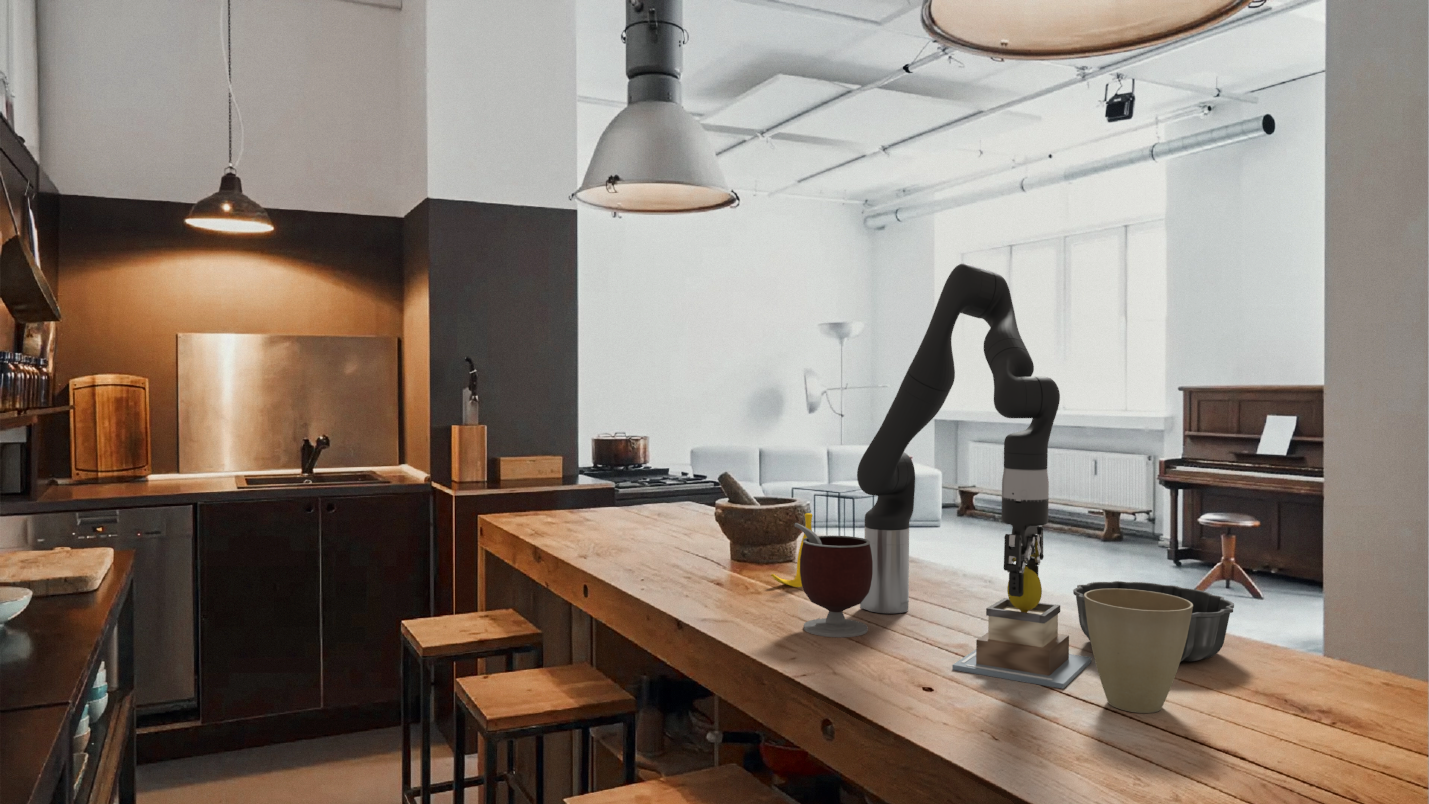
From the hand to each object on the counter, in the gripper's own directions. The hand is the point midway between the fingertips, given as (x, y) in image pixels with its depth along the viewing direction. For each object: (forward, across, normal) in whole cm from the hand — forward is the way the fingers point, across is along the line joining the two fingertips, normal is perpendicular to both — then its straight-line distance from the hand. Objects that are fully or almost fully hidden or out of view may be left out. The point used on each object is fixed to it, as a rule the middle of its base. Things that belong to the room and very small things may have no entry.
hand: (1023, 591), depth 169 cm
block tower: (+13, 0, 0) cm, 13 cm away
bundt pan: (+13, -23, +16) cm, 31 cm away
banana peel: (+13, -37, -63) cm, 74 cm away
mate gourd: (+13, -4, -38) cm, 40 cm away
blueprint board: (+13, 0, 0) cm, 13 cm away
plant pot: (+13, +11, +20) cm, 26 cm away
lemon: (+4, 0, 0) cm, 4 cm away
